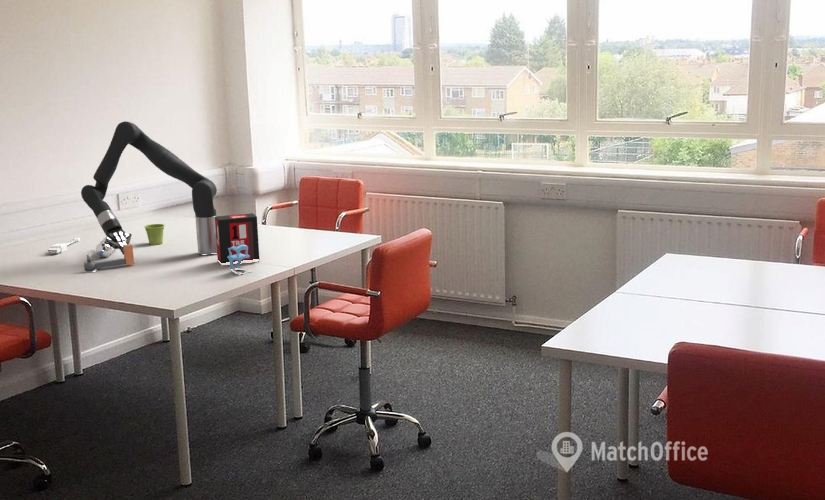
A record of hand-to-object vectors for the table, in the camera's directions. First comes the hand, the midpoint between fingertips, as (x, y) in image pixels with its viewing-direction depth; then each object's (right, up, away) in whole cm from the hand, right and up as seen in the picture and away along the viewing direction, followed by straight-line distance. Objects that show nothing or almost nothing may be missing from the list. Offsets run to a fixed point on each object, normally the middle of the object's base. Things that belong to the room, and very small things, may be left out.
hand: (127, 254), depth 387 cm
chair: (+52, -8, -16) cm, 55 cm away
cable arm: (-6, -5, -5) cm, 10 cm away
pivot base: (-13, -7, -9) cm, 17 cm away
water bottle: (-18, +6, +33) cm, 38 cm away
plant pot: (+1, +5, +41) cm, 41 cm away
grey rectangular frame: (-11, -5, -3) cm, 13 cm away
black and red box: (+48, -3, +2) cm, 48 cm away
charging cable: (-41, +2, +36) cm, 55 cm away
